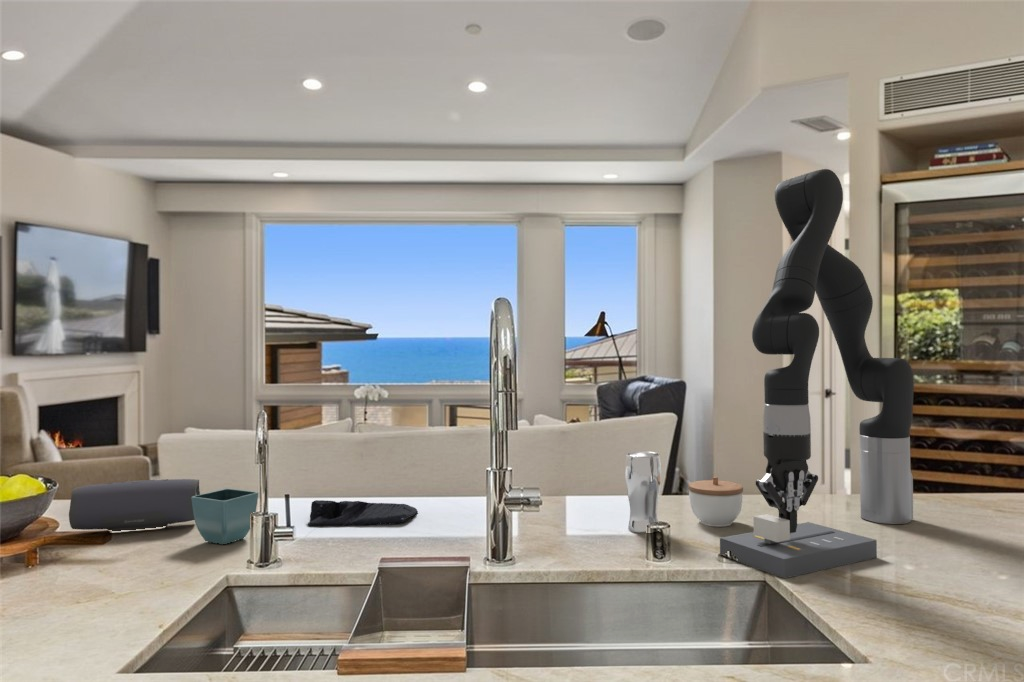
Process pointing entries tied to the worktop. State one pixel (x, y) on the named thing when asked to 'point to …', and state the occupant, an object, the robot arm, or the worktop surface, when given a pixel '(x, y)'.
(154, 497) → the bluetooth speaker
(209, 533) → the flower pot
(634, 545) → the worktop surface
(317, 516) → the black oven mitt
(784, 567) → the panel
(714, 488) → the lidded jar
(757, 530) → the fader knob
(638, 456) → the beer glass
